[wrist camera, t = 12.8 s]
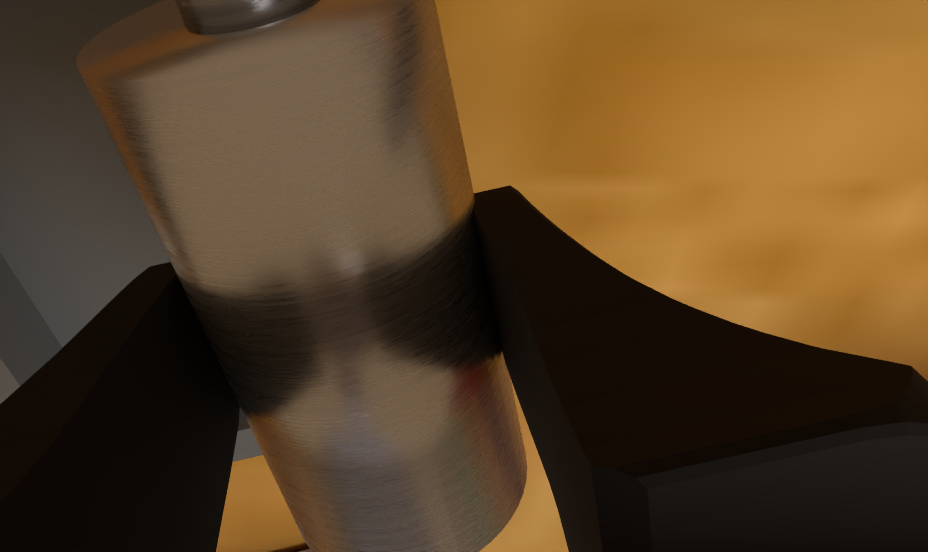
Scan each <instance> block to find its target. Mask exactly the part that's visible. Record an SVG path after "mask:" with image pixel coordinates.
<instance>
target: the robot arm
mask: <svg viewBox="0 0 928 552" xmlns="http://www.w3.org/2000/svg"><path fill="white" fill-rule="evenodd" d="M474 198H475V205H474V208H473V213H474V217H475V222H476V227H477V232H478V237H479V241H480V246H481V251H482V256H483V261H484V266H485V270H486V275H487V280H488V285H489V290H490V294H491V299H492V304H493V309H494V314H495V319H496V323H497V328H498V333H499V338H500V343H501V348H502V352H503V356H504V360H505V364H506V367H507V369H508V372H509V375H510V378H511V380H512V383H513V386H514V389H515V391H516V394H517V397H518V399H519V402H520V405H521V408H522V410H523V413H524V416H525V418H526V421H527V424H528V426H529V429H530V432H531V435H532V437H533V440H534V443H535V445H536V448H537V451H538V453H539V456H540V459H541V461H542V464H543V467H544V470H545V472H546V475H547V478H548V480H549V483H550V486H551V489H552V492H553V496H554V499H555V502H556V505H557V508H558V511H559V515H560V519H561V523H562V527H563V531H564V534H565V538H566V542H567V546H568V550H569V552H928V381H927V380H926V379H924V378H923V377H922V376H921V375H920V374H919V373H918V372H917V371H916V370H915V369H914V368H913V367H912V366H909V365H904V364H899V363H894V362H889V361H883V360H878V359H873V358H868V357H863V356H858V355H853V354H848V353H843V352H838V351H833V350H827V349H822V348H818V347H814V346H810V345H806V344H803V343H799V342H795V341H792V340H788V339H784V338H781V337H777V336H774V335H770V334H766V333H763V332H760V331H757V330H754V329H750V328H747V327H744V326H741V325H738V324H735V323H732V322H729V321H727V320H724V319H721V318H719V317H716V316H714V315H711V314H708V313H706V312H703V311H700V310H698V309H695V308H693V307H690V306H688V305H686V304H683V303H681V302H679V301H676V300H674V299H672V298H670V297H668V296H666V295H664V294H662V293H660V292H658V291H656V290H654V289H652V288H650V287H648V286H646V285H644V284H642V283H640V282H638V281H636V280H634V279H632V278H630V277H628V276H627V275H625V274H623V273H622V272H620V271H619V270H617V269H615V268H614V267H612V266H611V265H609V264H608V263H606V262H605V261H603V260H601V259H600V258H598V257H597V256H596V255H594V254H593V253H591V252H590V251H588V250H587V249H586V248H584V247H583V246H582V245H580V244H579V243H578V242H576V241H575V240H574V239H572V238H571V237H570V236H569V235H567V234H566V233H565V232H563V231H562V230H561V229H560V228H558V227H557V226H556V225H555V224H553V223H552V222H551V221H550V220H549V219H548V218H546V217H545V216H544V215H543V214H542V213H541V212H540V211H538V210H537V209H536V208H535V207H534V206H533V205H532V204H531V203H530V202H529V201H528V200H527V199H526V198H525V197H524V196H523V195H522V194H521V193H520V192H519V191H518V190H516V189H515V188H513V187H512V186H505V187H501V188H497V189H492V190H488V191H483V192H479V193H474ZM239 414H240V405H239V403H238V401H237V399H236V397H235V395H234V393H233V391H232V389H231V387H230V384H229V382H228V380H227V378H226V376H225V374H224V372H223V370H222V368H221V366H220V364H219V362H218V359H217V357H216V355H215V353H214V351H213V349H212V347H211V345H210V343H209V341H208V339H207V337H206V334H205V332H204V330H203V328H202V326H201V324H200V322H199V320H198V318H197V316H196V314H195V312H194V309H193V307H192V305H191V303H190V301H189V299H188V297H187V295H186V293H185V291H184V289H183V287H182V284H181V282H180V280H179V278H178V276H177V274H176V272H175V270H174V268H173V266H172V264H171V262H167V263H163V264H158V265H154V266H150V267H148V268H147V269H146V270H144V271H143V272H142V273H141V274H139V275H138V276H137V277H136V278H135V279H133V280H132V281H131V282H130V283H129V284H128V285H127V286H126V287H125V288H124V289H123V290H122V291H120V292H119V293H118V294H117V295H116V296H115V297H114V298H113V299H112V300H111V301H110V302H109V303H108V304H107V305H106V306H105V307H104V308H103V309H102V310H101V311H100V312H99V313H98V314H97V315H96V316H95V317H94V318H93V319H92V320H91V321H90V322H89V323H88V324H86V325H85V326H84V327H83V328H82V329H81V330H80V331H79V332H78V333H77V334H76V335H75V336H74V337H73V338H72V339H71V340H70V341H69V342H68V343H67V344H66V345H65V346H64V347H63V348H62V349H61V350H60V351H59V352H58V353H57V354H55V355H54V356H53V357H52V358H51V359H50V360H49V361H48V362H47V363H45V364H44V365H43V366H42V367H41V368H40V369H39V370H38V371H37V372H35V373H34V374H33V375H32V376H31V377H30V378H29V379H28V380H27V381H25V382H24V383H23V384H22V385H21V386H20V387H19V388H18V389H17V390H15V391H14V392H13V393H12V394H11V395H10V396H9V397H8V398H7V399H5V400H4V401H3V402H2V403H1V404H0V552H216V548H217V542H218V537H219V532H220V526H221V521H222V515H223V510H224V505H225V499H226V494H227V489H228V483H229V478H230V473H231V467H232V461H233V456H234V450H235V444H236V439H237V432H238V426H239ZM298 552H312V551H311V549H307V550H303V551H298Z"/></svg>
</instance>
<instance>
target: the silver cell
mask: <svg viewBox="0 0 928 552" xmlns="http://www.w3.org/2000/svg"><path fill="white" fill-rule="evenodd" d="M76 66H77V68H78V70H79V72H80V74H81V76H82V78H83V80H84V82H85V84H86V86H87V89H88V91H89V93H90V95H91V97H92V99H93V101H94V103H95V105H96V107H97V109H98V111H99V114H100V116H101V118H102V120H103V122H104V124H105V126H106V128H107V130H108V132H109V134H110V136H111V139H112V141H113V143H114V145H115V147H116V149H117V151H118V153H119V155H120V157H121V159H122V161H123V164H124V166H125V168H126V170H127V172H128V174H129V176H130V178H131V180H132V182H133V184H134V186H135V189H136V191H137V193H138V195H139V197H140V199H141V201H142V203H143V205H144V207H145V209H146V211H147V214H148V216H149V218H150V220H151V222H152V224H153V226H154V228H155V230H156V232H157V234H158V236H159V239H160V241H161V243H162V245H163V247H164V249H165V251H166V253H167V255H168V257H169V259H170V261H171V264H172V266H173V268H174V270H175V272H176V274H177V276H178V278H179V280H180V282H181V284H182V287H183V289H184V291H185V293H186V295H187V297H188V299H189V301H190V303H191V305H192V307H193V309H194V312H195V314H196V316H197V318H198V320H199V322H200V324H201V326H202V328H203V330H204V332H205V334H206V337H207V339H208V341H209V343H210V345H211V347H212V349H213V351H214V353H215V355H216V357H217V359H218V362H219V364H220V366H221V368H222V370H223V372H224V374H225V376H226V378H227V380H228V382H229V384H230V387H231V389H232V391H233V393H234V395H235V397H236V399H237V401H238V403H239V405H240V407H241V409H242V412H243V414H244V416H245V418H246V420H247V422H248V424H249V426H250V428H251V430H252V432H253V434H254V437H255V439H256V441H257V443H258V445H259V447H260V449H261V451H262V453H263V455H264V457H265V459H266V462H267V464H268V466H269V468H270V470H271V472H272V474H273V476H274V478H275V480H276V482H277V484H278V487H279V489H280V491H281V493H282V495H283V497H284V499H285V501H286V503H287V505H288V507H289V509H290V512H291V514H292V516H293V518H294V520H295V522H296V524H297V526H298V528H299V530H300V532H301V534H302V536H303V538H304V540H305V542H306V544H307V545H308V547H309V548H310V549H311V551H312V552H479V551H480V550H482V549H483V548H484V547H485V546H486V545H488V544H489V543H490V542H491V541H492V540H493V539H494V538H495V537H496V536H497V535H498V534H499V533H500V532H501V531H502V530H503V528H504V527H505V526H506V524H507V523H508V522H509V520H510V519H511V518H512V516H513V514H514V512H515V511H516V509H517V507H518V505H519V503H520V500H521V498H522V495H523V493H524V488H525V484H526V479H527V459H526V452H525V447H524V442H523V437H522V432H521V427H520V422H519V418H518V413H517V408H516V403H515V398H514V393H513V388H512V383H511V378H510V375H509V372H508V369H507V367H506V364H505V360H504V356H503V352H502V348H501V343H500V338H499V333H498V328H497V323H496V319H495V314H494V309H493V304H492V299H491V294H490V290H489V285H488V280H487V275H486V270H485V266H484V261H483V256H482V251H481V246H480V241H479V237H478V232H477V227H476V222H475V217H474V213H473V208H474V205H475V198H474V193H473V188H472V183H471V178H470V173H469V168H468V163H467V158H466V153H465V148H464V143H463V138H462V133H461V128H460V123H459V118H458V113H457V108H456V103H455V98H454V93H453V89H452V84H451V79H450V74H449V69H448V64H447V59H446V54H445V49H444V44H443V39H442V34H441V29H440V24H439V19H438V14H437V9H436V4H435V0H164V1H161V2H159V3H157V4H154V5H152V6H149V7H147V8H145V9H143V10H141V11H138V12H136V13H134V14H132V15H130V16H128V17H126V18H124V19H122V20H120V21H118V22H117V23H115V24H113V25H112V26H110V27H108V28H107V29H105V30H103V31H102V32H101V33H99V34H98V35H96V36H95V37H94V38H92V39H91V40H90V41H89V42H88V43H87V44H85V46H84V47H83V48H82V49H81V50H80V51H79V53H78V56H77V58H76Z"/></svg>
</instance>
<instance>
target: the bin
mask: <svg viewBox="0 0 928 552" xmlns="http://www.w3.org/2000/svg"><path fill="white" fill-rule="evenodd" d="M161 1H164V0H0V404H1V403H2V402H3V401H4V400H5V399H7V398H8V397H9V396H10V395H11V394H12V393H13V392H14V391H15V390H17V389H18V388H19V387H20V386H21V385H22V384H23V383H24V382H25V381H27V380H28V379H29V378H30V377H31V376H32V375H33V374H34V373H35V372H37V371H38V370H39V369H40V368H41V367H42V366H43V365H44V364H45V363H47V362H48V361H49V360H50V359H51V358H52V357H53V356H54V355H55V354H57V353H58V352H59V351H60V350H61V349H62V348H63V347H64V346H65V345H66V344H67V343H68V342H69V341H70V340H71V339H72V338H73V337H74V336H75V335H76V334H77V333H78V332H79V331H80V330H81V329H82V328H83V327H84V326H85V325H86V324H88V323H89V322H90V321H91V320H92V319H93V318H94V317H95V316H96V315H97V314H98V313H99V312H100V311H101V310H102V309H103V308H104V307H105V306H106V305H107V304H108V303H109V302H110V301H111V300H112V299H113V298H114V297H115V296H116V295H117V294H118V293H119V292H120V291H122V290H123V289H124V288H125V287H126V286H127V285H128V284H129V283H130V282H131V281H132V280H133V279H135V278H136V277H137V276H138V275H139V274H141V273H142V272H143V271H144V270H146V269H147V268H148V267H150V266H154V265H158V264H163V263H167V262H171V261H170V259H169V257H168V255H167V253H166V251H165V249H164V247H163V245H162V243H161V241H160V239H159V236H158V234H157V232H156V230H155V228H154V226H153V224H152V222H151V220H150V218H149V216H148V214H147V211H146V209H145V207H144V205H143V203H142V201H141V199H140V197H139V195H138V193H137V191H136V189H135V186H134V184H133V182H132V180H131V178H130V176H129V174H128V172H127V170H126V168H125V166H124V164H123V161H122V159H121V157H120V155H119V153H118V151H117V149H116V147H115V145H114V143H113V141H112V139H111V136H110V134H109V132H108V130H107V128H106V126H105V124H104V122H103V120H102V118H101V116H100V114H99V111H98V109H97V107H96V105H95V103H94V101H93V99H92V97H91V95H90V93H89V91H88V89H87V86H86V84H85V82H84V80H83V78H82V76H81V74H80V72H79V70H78V68H77V66H76V58H77V56H78V53H79V51H80V50H81V49H82V48H83V47H84V46H85V44H87V43H88V42H89V41H90V40H91V39H92V38H94V37H95V36H96V35H98V34H99V33H101V32H102V31H103V30H105V29H107V28H108V27H110V26H112V25H113V24H115V23H117V22H118V21H120V20H122V19H124V18H126V17H128V16H130V15H132V14H134V13H136V12H138V11H141V10H143V9H145V8H147V7H149V6H152V5H154V4H157V3H159V2H161ZM259 455H263V453H262V451H261V449H260V447H259V445H258V443H257V441H256V439H255V437H254V434H253V432H252V430H251V428H250V426H249V424H248V422H247V420H246V418H245V416H244V414H243V412H242V409H241V407H240V414H239V426H238V432H237V439H236V444H235V450H234V456H233V461H238V460H242V459H246V458H251V457H255V456H259ZM233 461H232V462H233Z"/></svg>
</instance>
